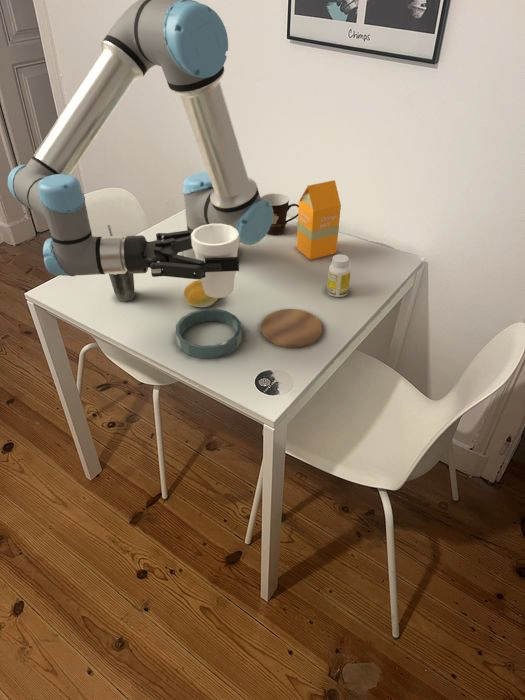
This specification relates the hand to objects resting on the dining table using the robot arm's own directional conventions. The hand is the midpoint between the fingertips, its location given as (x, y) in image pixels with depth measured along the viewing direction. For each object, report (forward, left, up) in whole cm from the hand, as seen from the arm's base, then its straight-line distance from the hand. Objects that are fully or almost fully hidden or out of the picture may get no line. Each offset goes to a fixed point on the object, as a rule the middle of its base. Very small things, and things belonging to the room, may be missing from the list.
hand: (238, 251), depth 107 cm
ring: (-5, -5, -22) cm, 23 cm away
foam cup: (-3, -3, -9) cm, 10 cm away
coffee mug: (-27, +46, -22) cm, 57 cm away
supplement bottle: (+6, +30, -22) cm, 37 cm away
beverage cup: (-33, -7, -22) cm, 40 cm away
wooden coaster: (+7, +10, -22) cm, 25 cm away
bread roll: (-18, +5, -22) cm, 29 cm away
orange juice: (-11, +44, -22) cm, 50 cm away
